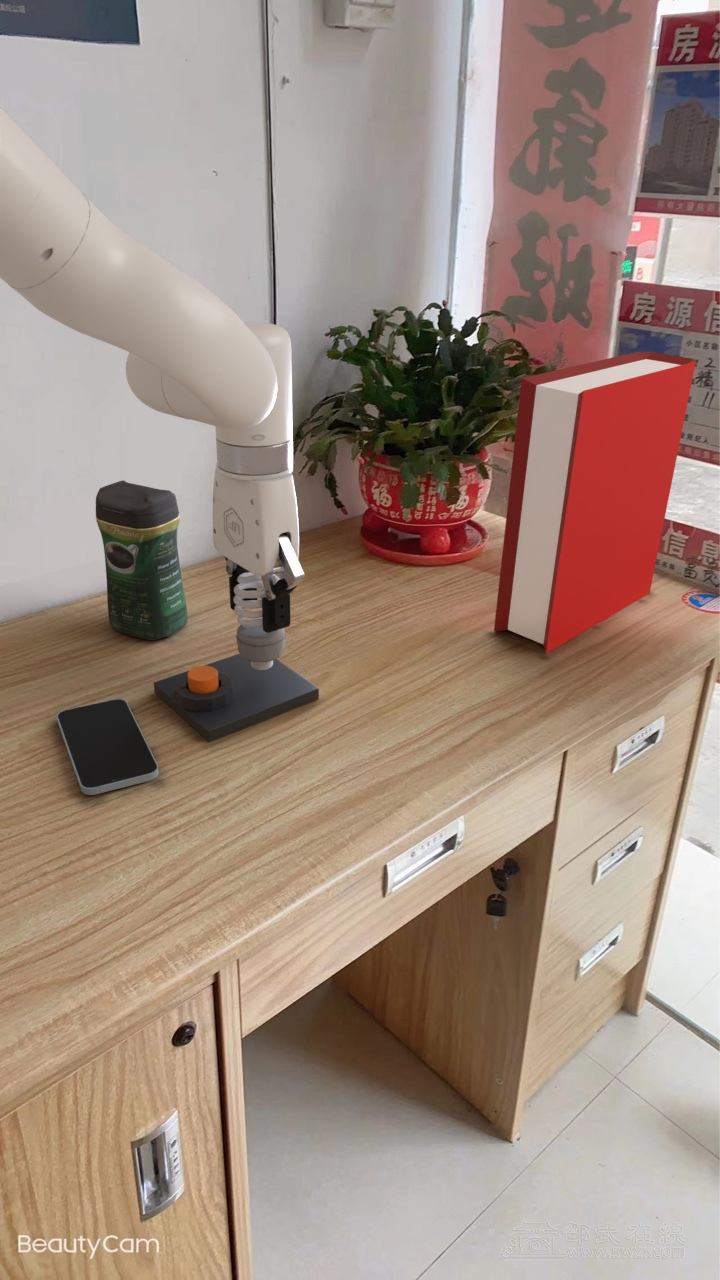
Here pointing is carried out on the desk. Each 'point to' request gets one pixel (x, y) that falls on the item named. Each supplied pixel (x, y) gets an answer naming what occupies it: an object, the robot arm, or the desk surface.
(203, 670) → the button
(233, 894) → the desk surface
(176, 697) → the black button base
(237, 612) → the light bulb
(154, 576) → the coffee jar
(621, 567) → the book
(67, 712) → the smartphone
